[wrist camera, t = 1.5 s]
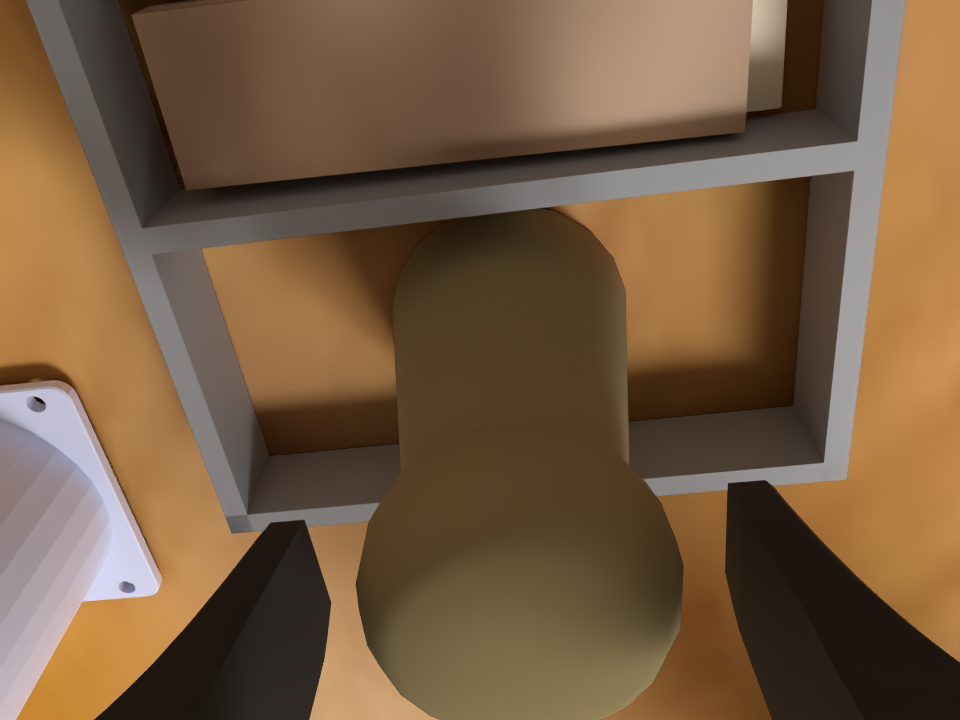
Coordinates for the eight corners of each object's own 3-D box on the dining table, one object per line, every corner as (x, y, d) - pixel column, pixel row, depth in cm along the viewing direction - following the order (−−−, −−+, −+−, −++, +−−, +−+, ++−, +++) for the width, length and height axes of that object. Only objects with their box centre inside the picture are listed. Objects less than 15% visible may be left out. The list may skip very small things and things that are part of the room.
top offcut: (202, 171, 19) (186, 190, 18) (152, 4, 17) (131, 14, 16) (730, 116, 18) (745, 131, 17) (739, -67, 16) (756, -61, 15)
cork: (361, 234, 20) (244, 557, 11) (604, 177, 19) (712, 471, 10) (429, 430, 23) (385, 816, 14) (643, 387, 22) (753, 767, 13)
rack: (255, 474, 24) (232, 533, 22) (76, -37, 17) (17, -23, 15) (813, 421, 23) (846, 479, 21) (867, -157, 16) (925, -160, 14)
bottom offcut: (223, 163, 20) (208, 180, 19) (176, 6, 18) (157, 15, 17) (765, 94, 19) (781, 107, 18) (774, -81, 17) (792, -77, 16)
